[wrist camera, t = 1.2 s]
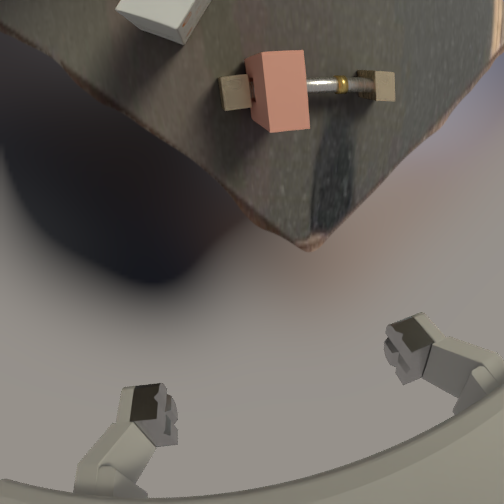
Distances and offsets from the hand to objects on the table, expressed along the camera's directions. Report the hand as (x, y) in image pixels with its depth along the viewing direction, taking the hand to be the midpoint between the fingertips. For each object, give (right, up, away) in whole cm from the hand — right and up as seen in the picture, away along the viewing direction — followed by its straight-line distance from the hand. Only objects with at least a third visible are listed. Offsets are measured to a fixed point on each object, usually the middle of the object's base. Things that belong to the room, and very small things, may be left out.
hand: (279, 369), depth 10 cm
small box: (-10, +33, +18) cm, 39 cm away
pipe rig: (+6, +26, +26) cm, 37 cm away
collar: (0, +25, +25) cm, 35 cm away
